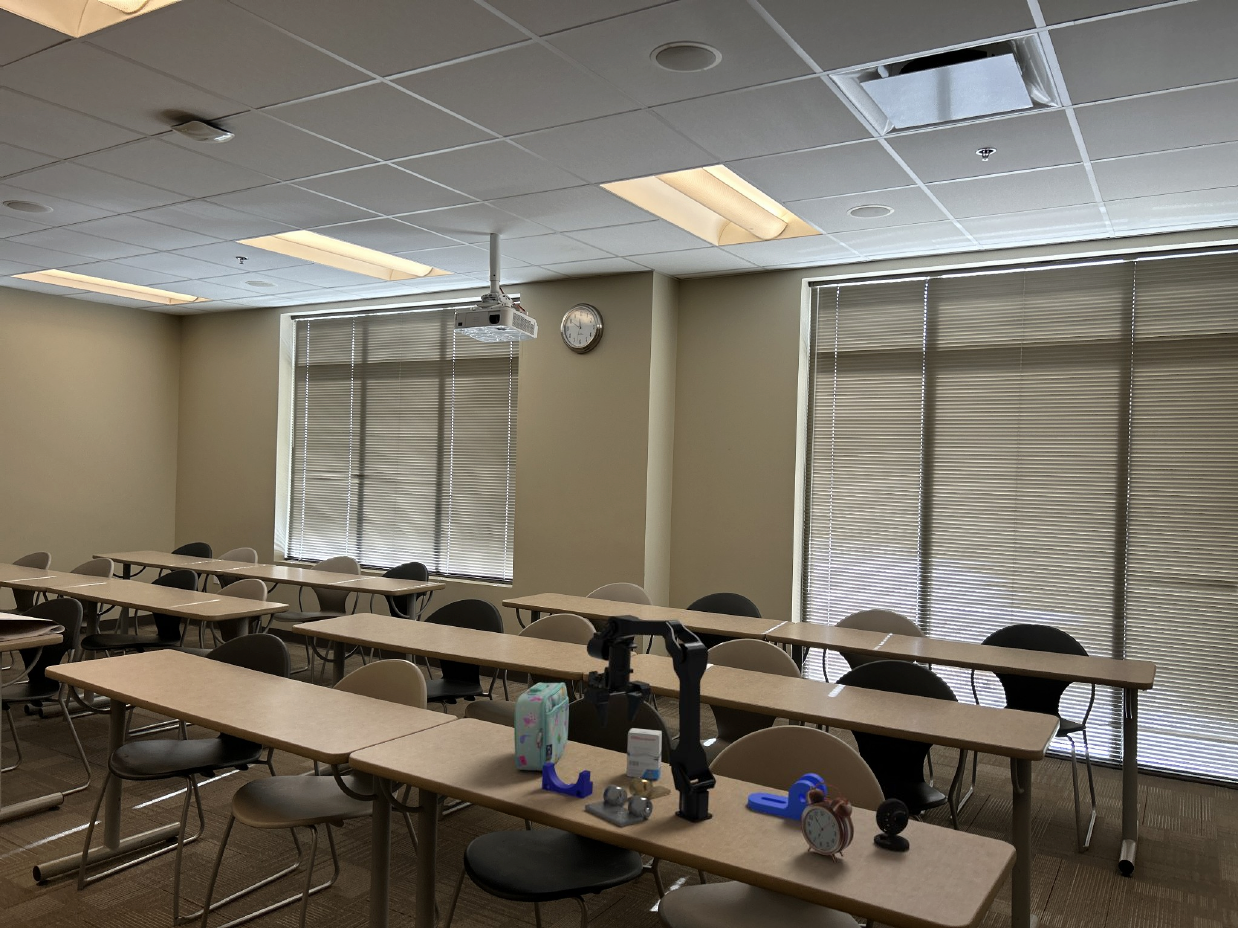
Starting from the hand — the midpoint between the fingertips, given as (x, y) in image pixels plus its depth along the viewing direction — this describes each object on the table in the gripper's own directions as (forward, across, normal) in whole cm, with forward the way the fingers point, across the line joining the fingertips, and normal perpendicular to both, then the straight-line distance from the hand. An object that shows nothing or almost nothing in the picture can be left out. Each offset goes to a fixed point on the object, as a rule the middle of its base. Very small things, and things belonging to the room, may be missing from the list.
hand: (616, 724), depth 225 cm
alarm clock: (+15, -7, +60) cm, 63 cm away
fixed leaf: (+15, +14, +17) cm, 26 cm away
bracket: (+15, -21, +38) cm, 46 cm away
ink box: (+15, -10, 0) cm, 18 cm away
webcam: (+15, -24, +65) cm, 71 cm away
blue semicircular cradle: (+15, +14, -2) cm, 21 cm away
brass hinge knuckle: (+15, -1, +12) cm, 19 cm away
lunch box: (+15, +6, -24) cm, 29 cm away
